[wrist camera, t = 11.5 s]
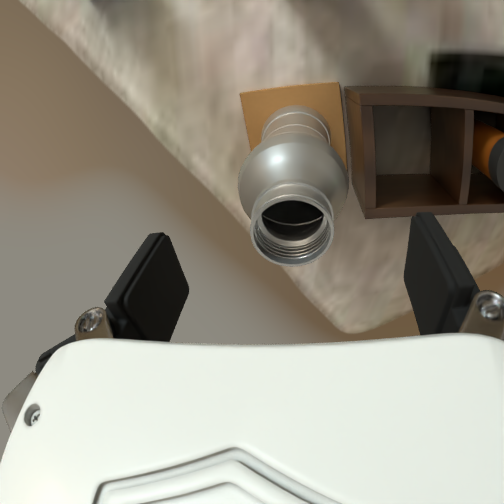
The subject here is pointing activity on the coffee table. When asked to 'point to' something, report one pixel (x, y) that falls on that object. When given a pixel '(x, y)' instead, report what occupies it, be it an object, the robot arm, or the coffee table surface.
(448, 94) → the brown divided box
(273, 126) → the metal flask
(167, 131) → the coffee table surface
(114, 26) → the coffee table surface
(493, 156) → the spice jar
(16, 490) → the robot arm
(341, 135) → the cork mat
